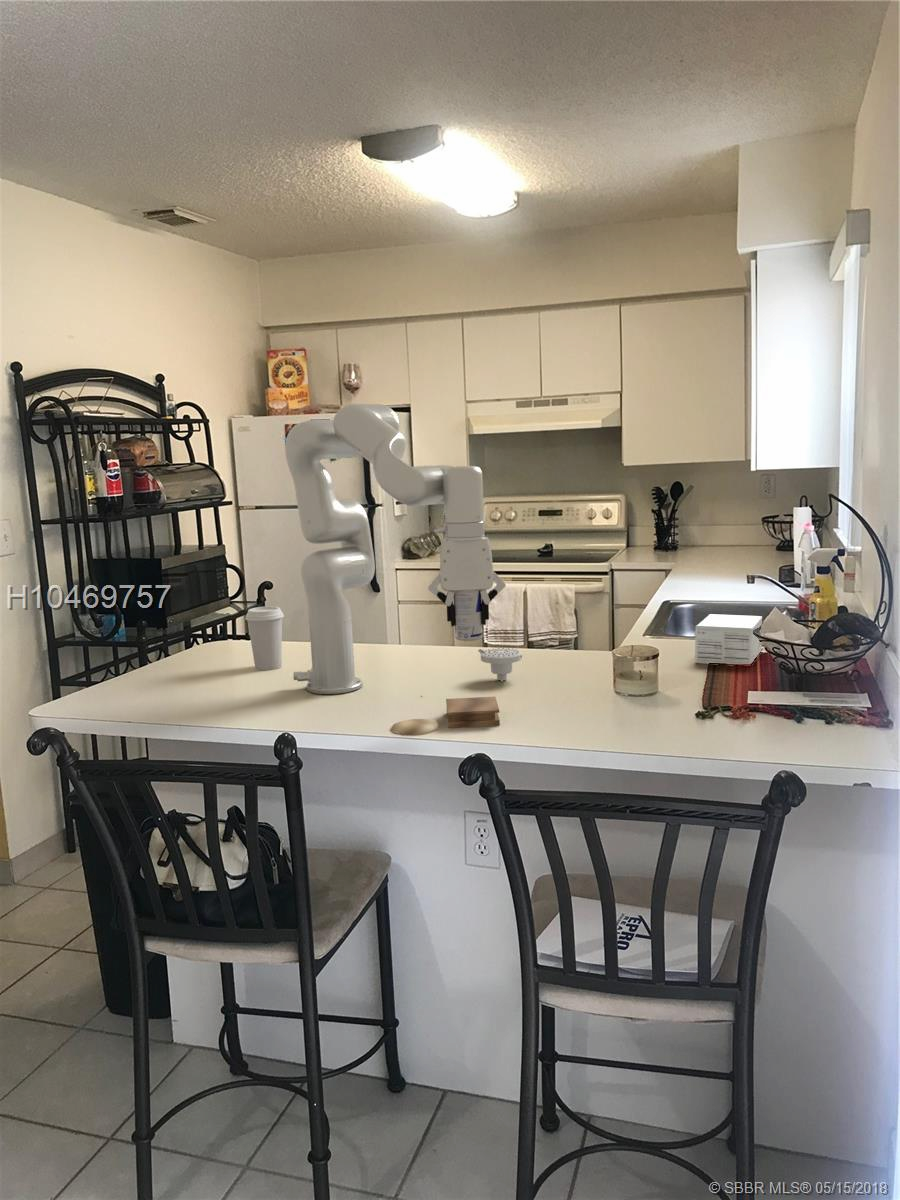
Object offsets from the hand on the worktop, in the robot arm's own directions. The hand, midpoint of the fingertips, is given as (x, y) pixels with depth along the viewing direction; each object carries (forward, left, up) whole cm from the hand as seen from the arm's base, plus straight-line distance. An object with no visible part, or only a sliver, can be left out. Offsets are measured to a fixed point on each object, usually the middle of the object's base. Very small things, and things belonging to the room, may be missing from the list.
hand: (468, 623), depth 183 cm
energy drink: (0, 0, -3) cm, 3 cm away
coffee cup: (-49, +54, -19) cm, 75 cm away
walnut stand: (0, 0, -19) cm, 19 cm away
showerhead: (+8, +30, -19) cm, 37 cm away
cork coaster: (-11, -4, -20) cm, 23 cm away
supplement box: (+65, +42, -20) cm, 79 cm away
